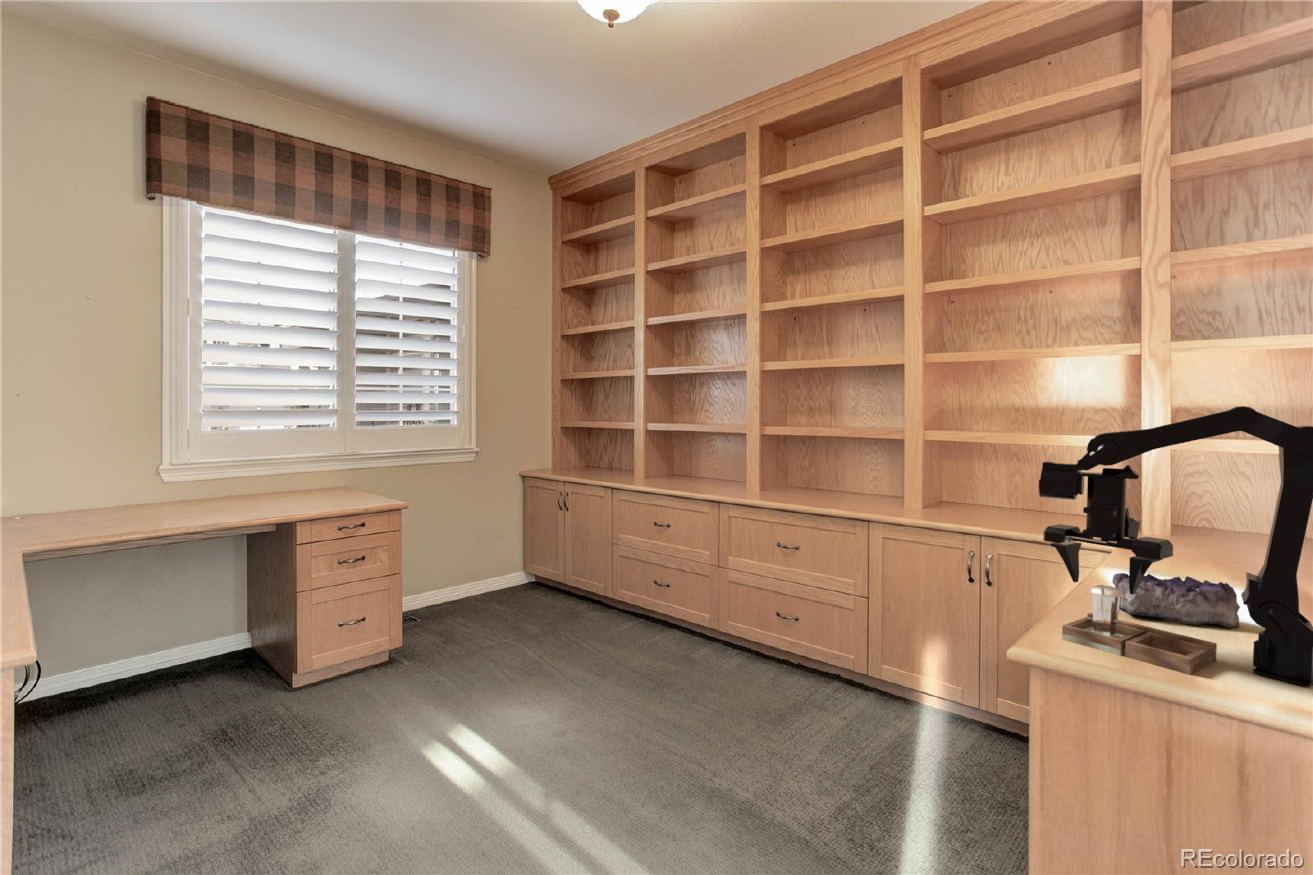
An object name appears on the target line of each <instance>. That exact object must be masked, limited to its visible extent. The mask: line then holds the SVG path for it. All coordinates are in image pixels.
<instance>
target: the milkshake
mask: <svg viewBox="0 0 1313 875" xmlns="http://www.w3.org/2000/svg"><path fill="white" fill-rule="evenodd" d="M1121 595H1122V593H1121V592H1120V591H1119V590H1118V589H1116V588H1115V586H1111V585H1110V586H1109V585H1103V584H1099V585H1095V586H1093V587H1092V588H1091V589H1090V596H1091V604H1092V605H1091V606H1092V613H1093V626H1094V632H1095V633H1099V634H1102V635H1106V636H1110V637H1114V638H1116V633H1117V624H1118V620H1119V615H1120V609H1121V608H1120V602H1121Z"/></svg>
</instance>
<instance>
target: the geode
mask: <svg viewBox="0 0 1313 875" xmlns="http://www.w3.org/2000/svg"><path fill="white" fill-rule="evenodd" d="M1112 584H1113V585H1114V588H1116V589H1118V590H1119V591H1120V592H1121V593H1122V595H1121V602H1120V608H1119V609H1121V610H1123V611H1125V612H1126V613H1127V614H1129V615H1136V616H1141V617H1142V616H1143V617H1151V618H1161V619H1164V620H1167V621H1170V622H1179V623H1181V624H1185V625H1189V626H1199V625H1206V624H1210V625H1219V626H1221V627H1225V628H1228V629H1229V630H1233V629H1237V628H1238V629H1239V628H1240V617H1239V614H1238V612H1239V611H1240V608H1241V606H1240V605H1239V603H1238V602H1237V600H1238V595H1237V593H1236V591H1235V590H1234V588H1233V586H1230V584H1228V583H1227V582H1225V583H1223V582H1222V581H1220V582H1218V583H1214V582H1213V583H1212V582H1211V581H1209V580H1207V579H1205V580H1203V582H1202V581H1200V580H1198V579H1195V578H1193V577H1190V576H1185V578H1184V580H1182V578H1181V577H1180V576H1174V577H1172V578H1169V579H1166V578H1163V579H1161V578H1159V577H1155V576H1154V575H1152V574H1150V573H1148V574H1146V575H1144V576H1143V579H1142V581H1141V583H1140V585H1139V587H1138V589H1137V591H1136V593H1135V594H1133V595H1132V594H1130V590H1129V573H1124V572H1121V573H1115V574H1114V575H1113V577H1112Z"/></svg>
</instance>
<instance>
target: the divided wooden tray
mask: <svg viewBox="0 0 1313 875" xmlns="http://www.w3.org/2000/svg"><path fill="white" fill-rule="evenodd" d="M1061 629H1062V630H1061V631H1062V635H1061V638H1062V640H1064V641H1068V642H1071V643H1076V644H1079V645H1081V646H1084V647H1085V646H1086V647H1090V648H1093V649H1096V650H1100V651H1102V652H1103V651H1104V652H1106V653H1111V654H1115V655H1118V656H1122V655H1124V657H1125V658H1130V659H1133V660H1137V661H1140V662H1145V663H1148V664H1152V665H1154V666H1158V667H1162V668H1165V669H1169V670H1172V671H1176V672H1179V673H1183V674H1187V675H1192V674H1193V673H1196V672H1198V671H1199V670H1200V669H1203V668H1204V667H1207V666H1209V665H1210V664H1212V663H1215V662H1217V648H1218V646H1217V645H1218V644H1217V643H1216V642H1214V641H1209V640H1204V639H1200V638H1196V637H1192V636H1187V635H1184V634H1179V633H1176V632H1171V631H1167V630H1164V629H1159V628H1154V627H1150V626H1146V625H1142V624H1137V623H1134V622H1130V621H1127V620H1122V619H1118V624H1117V633H1116V638H1114V637H1110V636H1106V635H1102V634H1099V633H1095V632H1094V626H1093V612H1089V613H1087V614H1086V617H1083V618H1080V619H1078V620H1075V621H1072V622H1068V623H1066V624H1063V625H1062V628H1061Z"/></svg>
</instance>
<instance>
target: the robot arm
mask: <svg viewBox="0 0 1313 875" xmlns="http://www.w3.org/2000/svg"><path fill="white" fill-rule="evenodd" d="M1234 432H1235V433H1236V432H1242V433H1245V434H1248V435H1251V436H1253V437H1255V438H1258V439H1260V440H1263V441H1264V442H1267V443H1270V444H1272V445H1274V446H1277V447H1278V459H1279V460H1278V462H1279V472H1280V484H1279V490H1278V496H1277V500H1276V505H1275V508H1274V514H1273V519H1272V522H1271V529H1270V533H1269V538H1268V542H1267V548H1266V552H1265V557H1264V562H1263V564H1262V567H1261V568H1260V570H1259V572H1258V573H1257V574H1253V573H1251V572H1246V573H1245V580H1246V581H1245V582H1246V585H1245V588H1244V591H1243V592H1242V593H1241V594H1240V596H1241V598H1242V599H1241V600H1242V603H1243V605H1245V606H1247V611H1248V614H1249V617H1250V618H1251V620H1253V622H1255V624H1257V625H1258V626H1260V627H1261V628H1262V629H1263V628H1264V630H1262V631H1261V632H1258V637H1257V638H1258V639H1256V640H1255V641H1253V649H1252V650H1253V652H1252V665H1253V666H1254V668H1253V670H1252V673H1254V674H1257V675H1259V676H1265V677H1269V678H1270V679H1271V678H1272V679H1275V680H1279V681H1283V682H1287V683H1291V684H1294V685H1299V686H1303V687H1306V688H1307V687H1311V686H1312V685H1313V623H1312V622H1311V621H1310V620H1309V619H1308V618H1307V617H1305V615H1303V614H1302V613H1300V599H1299V587H1298V577H1297V576H1298V575H1297V574H1298V571H1299V570H1298V569H1299V565H1300V560H1301V555H1302V550H1303V546H1304V542H1305V536H1306V533H1307V528H1308V524H1309V519H1310V514H1311V509H1312V506H1313V425H1312V426H1311V425H1297V426H1295V425H1293V424H1291V423H1288V422H1285V421H1282V420H1280V419H1277V418H1274V417H1272V416H1269V415H1266V414H1264V413H1261V412H1258V411H1256V410H1255V409H1254V408H1252V407H1250V406H1245V405H1244V406H1243V405H1241V406H1236V407H1232V408H1231V409H1227V410H1223V411H1220V412H1216V413H1211V414H1208V415H1203V416H1198V417H1194V418H1190V419H1185V420H1181V421H1177V422H1173V423H1168V424H1163V425H1160V426H1156V427H1151V428H1143V429H1134V430H1122V431H1121V430H1120V431H1111V432H1110V431H1109V432H1103V433H1099V434H1097V435H1095V436H1093V437H1092V438H1090V440H1089V441H1088V444H1087V445H1086V446H1087V447H1086V451H1087V452H1086V453H1085V455H1083V456H1082V458H1080V459H1078V460H1077V463H1061V462H1058V463H1057V462H1054V461H1044V462H1042V464H1041V466H1042V468H1041V471H1040V476H1039V477H1040V478H1039V479H1038V493H1039V494H1038V495H1039V496H1040V497H1039V498H1047V499H1059V500H1060V499H1061V500H1072V501H1075V500H1077V497H1078V495H1080V496H1083V495H1084V490H1085V477H1086V478H1087V492H1086V493H1087V494H1086V506H1083V510H1082V513H1083V514H1086V518H1085V520H1086V522H1085V529H1082V531H1081V530H1080V527H1079V526H1076V525H1075V526H1074V525H1068V524H1061V523H1059V524H1052V525H1047V526H1046V527H1045V529H1044V530H1043V541H1044V542H1048V543H1050V547H1052V548H1055V549H1056V552H1058V554H1059V557H1060V558H1061V559H1062V561H1063V563H1064V565H1065V567H1066V569H1067V571H1068V573H1069V575H1070V578H1071V580H1072V582H1073V583H1078V582H1079V578H1080V557H1079V556H1080V550H1081V546H1082V543H1086V544H1091V545H1098V546H1103V547H1109V548H1110V547H1111V548H1116V549H1122V550H1130V551H1131V552H1132V553H1133V554H1134V556H1131V557H1129V564H1128V566H1129V567H1128V568H1129V572H1128V575H1129V590H1130V594H1132V595H1133V594H1135V593H1136V591H1137V589H1138V587H1139V585H1140V583H1141V581H1142V579H1143V576H1146V575H1145V574H1146V572H1148V569H1149V568H1150V567H1151V565H1153V563H1157V562H1160V561H1163V560H1164V559H1168V558H1170V557H1173V556H1174V546H1173V544H1172V542H1171V540H1170V539H1167V538H1166V539H1165V538H1160V537H1159V538H1158V537H1151V536H1142V537H1138V536H1139V531H1140V525H1141V523H1140V522H1139V521H1137V520H1136V519H1134V518H1132V517H1130V511H1129V507H1126V504H1127V503H1126V502H1127V501H1126V500H1127V480H1138V479H1139V478H1140V476H1141V475H1140V474H1139V473H1138V472H1136V470H1134V469H1133V468H1132V465H1130V464H1127V465H1125V467H1123V468H1118V467H1117V468H1114V467H1112V468H1111V467H1103V468H1102V471H1101V472H1087V471H1089V470H1092V469H1093V468H1096V467H1098V466H1114V465H1117V464H1119V463H1122V462H1124V461H1127V460H1130V459H1132V458H1135V457H1137V456H1140V455H1143V454H1145V453H1148V452H1151V451H1154V450H1157V449H1161V448H1166V447H1170V446H1171V447H1172V446H1175V445H1180V444H1185V443H1189V442H1193V441H1199V440H1203V439H1207V438H1212V437H1216V436H1221V435H1226V434H1230V433H1231V434H1232V433H1234ZM1097 538H1098V539H1097Z"/></svg>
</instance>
